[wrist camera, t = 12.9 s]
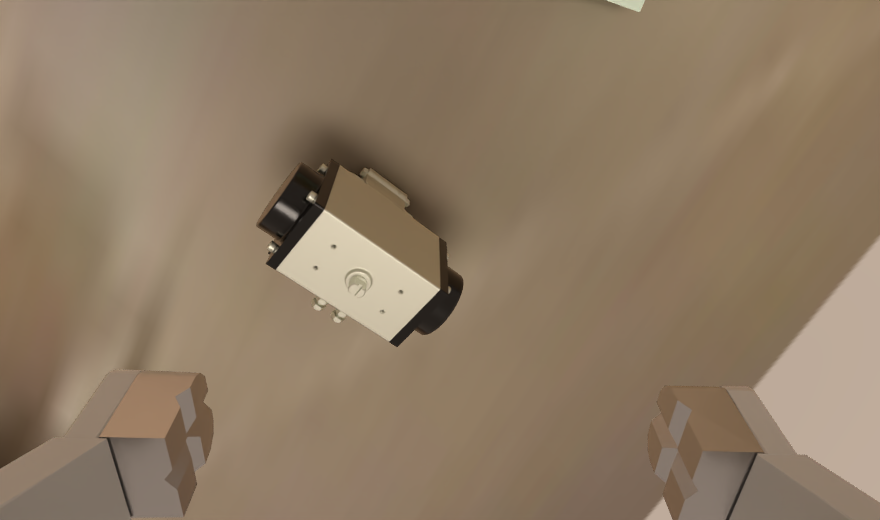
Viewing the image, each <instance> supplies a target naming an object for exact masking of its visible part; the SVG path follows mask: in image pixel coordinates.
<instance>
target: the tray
mask: <svg viewBox="0 0 880 520" xmlns="http://www.w3.org/2000/svg"><path fill="white" fill-rule="evenodd" d="M607 1H609V2H612V3H615V4H618V5H620V6H623V7H626V8H629V9H632V10H634V11H637V12H640V10H641V8H642V6H643V4H644V1H645V0H607Z"/></svg>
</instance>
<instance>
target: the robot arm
mask: <svg viewBox="0 0 880 520" xmlns="http://www.w3.org/2000/svg"><path fill="white" fill-rule="evenodd" d="M207 392H208V388H207V383H206V379H205V376H204V375H203V374H201V373H192V372H172V371H152V370H144V371H140V370H121V369H115V370H113V371H111V372H109V373H108V374H107V375H106V376H105V378H104V379H103V380H102V382H101V383H100V385H99V386H98V388H97V389H96V391H95V392H94V394H93V395H92V396H91V398H90V399H89V401H88V402H87V404H86V405H85V407H84V408H83V410H82V411H81V412H80V414H79V415H78V417H77V418H76V420H75V421H74V423H73V424H72V425H71V427H70V428H69V430H68V431H67V433H66V434H65V436H64V437H54V438H52V439H50V440H49V441H47V442H45V443H44V444H42V445H40V446H38V447H37V448H35V449H33V450H32V451H30V452H28V453H27V454H25V455H23V456H22V457H20V458H18V459H16V460H15V461H13V462H11V463H10V464H8V465H6V466H5V467H3V468H1V469H0V520H131V518H155V517H184V515H185V513H186V510H187V508H188V505H189V503H190V501H191V498H192V496H193V493H194V491H195V488H196V486H197V482H196V477H195V471H196V470H197V469H199V468H200V467H201V466H203V465H204V464H205V463H206V461H207V458H208V455H209V453H210V450H211V444H212V439H213V433H214V432H213V415H212V410H211V409H210V408H209V407H208V406H207V405H206V404H205V403H204V402H203V401H204V399H205V396H206V394H207ZM657 404H658V407H659V409H660V411H661V413H660V414H659V415H658V416H656V417H655V418H654V419H653V420H651V423H650V427H649V431H648V454H649V459H650V463H651V466H652V468H653V471H654V473H655V474H656V475H657V476H658V477H659V478H661V479H662V480H663V481H664V482H665V483H666V485H665V488H664V491H663V497H664V499H665V502H666V504H667V506H668V509H669V511H670V514H671V516H672V519H673V520H880V503H879V502H878V501H876V500H875V499H873V498H872V497H870V496H869V495H867V494H866V493H864V492H862V491H861V490H859V489H858V488H856V487H855V486H853V485H852V484H850V483H849V482H847V481H845V480H844V479H842V478H841V477H839V476H838V475H836V474H835V473H833V472H832V471H830V470H828V469H827V468H825V467H824V466H822V465H821V464H819V463H818V462H816V461H815V460H813V459H811V458H810V457H808V456H807V455H797V453H796V452H795V450H794V449H793V448H792V446H791V445H790V443H789V442H788V440H787V439H786V437H785V436H784V434H783V433H782V431H781V430H780V428H779V427H778V425H777V424H776V422H775V421H774V419H773V418H772V416H771V415H770V414H769V412H768V410H767V409H766V407H765V406H764V404H763V403H762V402H761V400H760V398H759V397H758V396H757V394H756V393H755V391H754V390H753V389H751V388H750V387H748V386H720V387H709V386H664V387H663V388H662V390H661V391H660V393H659V396H658V399H657Z"/></svg>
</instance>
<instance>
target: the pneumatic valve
mask: <svg viewBox="0 0 880 520" xmlns="http://www.w3.org/2000/svg"><path fill="white" fill-rule="evenodd" d="M318 172H319V173H320V174H318V173H317V172H315V171H314V170H312V169H311V168H310V167H308V166H307V165H305V164H304V163H302V162H301V163H299V164H298V165H297V166H296V167H295V168H294V170H293V171H292V172H291V173H290V175H289V176H288V177H287V178H286V180H285V181H284V182H283V184H282V185H281V186H280V188H279V189H278V191H277V192H276V193H275V195H274V196H273V198H272V199H271V201H270V202H269V204H268V205H267V207H266V208H265V210H264V211H263V213H262V215H261V216H260V218H259V220H258V222H257V224H256V226H257V227H258V228H260V229H261V230H263V231H264V232H266V233H267V234H269V235H270V236H272V237H273V238H275V239H274V242H273V241H271V242H270V244H269V245H268V247H267V250H268V251H269V252H268V254H270V256H269V258H268V260H267V262H266V264H267V265H269V266H270V267H272V268H273V269H275V270H277V271H278V272H280V273H281V274H283V275H284V276H286V277H288V278H289V279H291V280H292V281H294V282H295V283H297V284H299V285H300V286H302V287H303V288H305V289H306V290H308V291H310V292H311V293H313V294H314V295H316V298H314V299H313V300H312V301H311V305H312V307H313V308H314V309H315V310H317V311H321V310H323V309H324V308H325V307H326V305H327V304H330V305H332V306H333V307H335V308H336V310H334V311H333V312H332V313H331V318H332V319H333V321H335V322H336V323H341V322H342V321H344V320H345V317H347V316H349V317H350V318H352V319H354V320H355V321H357V322H358V323H360V324H361V325H363V326H365V327H366V328H368V329H369V330H371V331H372V332H374V333H376V334H377V335H379V336H380V337H382V338H383V339H385V340H387V341H388V342H390V343H391V344H393V345H394V346H396V347H398V346H399V345H400V344H401V343H402V342H403V341H404V340H405V339H406V338H407V337H408V336H409V335H410V334H411V333H412V332H413V331H414V330H415V331H417V332H418V333H420V334H422V335H427V334H430V333H432V332H433V331H435V330H436V329H437V328H439V327H440V326H441V325H442V324H443V323H444V322H445V321H446V319H447V318H448V317H449V316H450V314H451V313H452V311H453V310H454V308H455V306H456V305H457V303H458V301H459V298H460V296H461V293H462V290H463V278H462V276H461V275H459V274H458V273H457V272H455V271H454V270H452V269H451V268H450V267H448V266H447V259H448V258H449V254H447V246H446V242H445V241H444V240H442V239H441V238H439V237H438V236H437V235H435V234H434V233H433V232H431V231H430V230H428V229H427V228H426V227H424V226H423V225H422V224H420V223H419V222H417V221H416V220H415V219H413V216H412V215H410V214H409V213H407V212H406V210H405V209H404V208H405V207H408V206H409V205H410V203H409V202H410V200H408V199H407V195H406V194H405V193H404V192H402V191H401V190H400V189H398V188H397V187H396V186H394V185H393V184H392V183H390V182H389V181H388V180H386V179H385V178H384V177H382V176H381V175H380V174H378V173H377V172H376V171H374V170H373V169H371V168H369V169H366V168H363V169H362V171H361V172H360V175H361V176H362V178H360V177H358V176H357V175H355V174H354V173H352V172H349V171H348V170H346V169H345V168H344V167H342V166H341V165H339V164H338V163H337V162H335V161H334V160H333V159H331V160H330V162H329V163H328V164H327V165H324V164H322V165H321V166H320V167H319V169H318Z"/></svg>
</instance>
